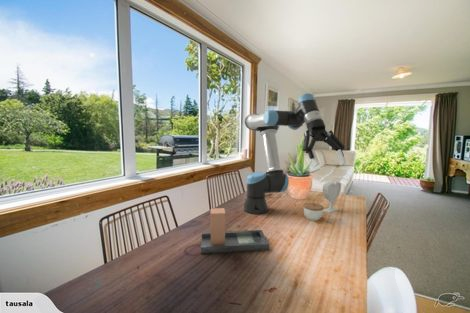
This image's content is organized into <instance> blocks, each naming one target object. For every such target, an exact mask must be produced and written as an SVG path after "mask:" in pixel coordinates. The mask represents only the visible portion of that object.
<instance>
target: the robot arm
mask: <svg viewBox="0 0 470 313" xmlns="http://www.w3.org/2000/svg"><path fill="white" fill-rule="evenodd" d="M297 102H298V106H297V108H296V109H295V110H275V109H269V110H265V112H263V113H251V114H248V115H246V117H245V119H244V125H245V127H246V128H247V129H248V130H250V131H254V132H259V135H260V136H262V140H263V148H264V155H265V162H266V169H267V170H266V172H263V171H262V172H261V171H260V172H257V171H256V172H255V171H254V172H251V173H249V174H248V175H247V177H246V198H245V201H244V204H243V211H244V212H246V213H248V214H251V215H252V214H254V215H260V214H265V213H267V212H268V208H269V207H268V204H267V201H266V194H271V193H283V192H286V190H288V187H289V184H290V181H289V180H290V179H289V176H288V174H286V173H285V172H284V169H282V168H281V162H280V156H279V151H278V144H277V143H278V142H277V137H276V134H277V133H278V130H279V128H280V126H283V127H288V128H289V129H290V130H293V131H296V130H299V129H300V128H301V127H302V126H304V124H305V126H306V129H307V130H306V131H305V132H304V133H303V137H304V138H303V146H302V152H305V153H306V154H308V157H309V159H310V160H311V163H312V165H313V167H314V168H315V167H317V166H318V165H320V163H319V160H318V157H317V154H316V151H315V149H314V146H315V144H316V142H323V143H326V144H327V145H328V146H330V147H331V148H332V149H333V150H334V151H335V156H336V158H337V161H338V163H339V165H340V166H344V165H345V164H347V161H346V158H345V155H344V152H343V150H344V149H345V148H346V146H345V145H344V144H343V143H342V142H341V140H340V139H338V137H337V136H336V135H335V134H334V132H333V131H332V130H329V131H327V130H326V124H325V122H324V120H323V117H322V114H321V112H320V110H319V107H318V104H317V101H316V99H315V97H314V95H313V94H312V93H308V92H307V93H303V94H301V95H300V96H299V97H298V99H297ZM310 138H311V140H310Z"/></svg>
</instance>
